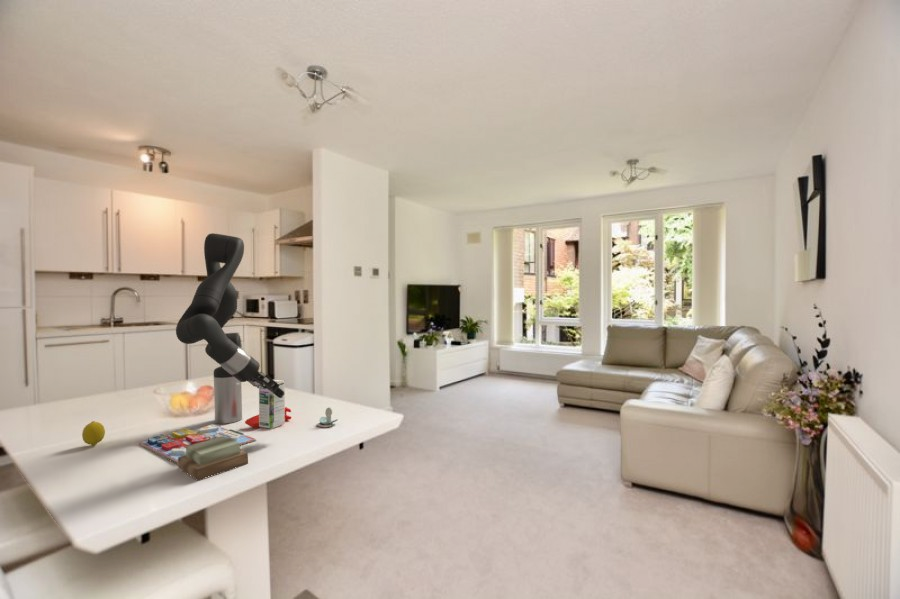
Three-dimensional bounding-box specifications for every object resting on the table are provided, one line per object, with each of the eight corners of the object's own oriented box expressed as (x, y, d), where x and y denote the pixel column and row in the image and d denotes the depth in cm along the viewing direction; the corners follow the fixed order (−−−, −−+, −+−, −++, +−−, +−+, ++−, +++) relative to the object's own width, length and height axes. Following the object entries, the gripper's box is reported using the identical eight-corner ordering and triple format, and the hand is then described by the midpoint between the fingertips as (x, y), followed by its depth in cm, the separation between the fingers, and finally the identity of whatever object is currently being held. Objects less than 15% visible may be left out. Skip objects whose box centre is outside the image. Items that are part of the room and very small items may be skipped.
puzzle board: (257, 442, 135) (256, 434, 135) (179, 468, 116) (178, 458, 116) (212, 426, 153) (212, 419, 153) (138, 446, 134) (138, 438, 134)
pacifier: (328, 429, 146) (340, 424, 151) (327, 412, 145) (339, 407, 151) (313, 426, 149) (325, 421, 154) (312, 409, 149) (325, 405, 154)
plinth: (178, 468, 115) (177, 446, 115) (227, 453, 125) (226, 433, 125) (198, 480, 107) (197, 457, 107) (248, 463, 117) (247, 442, 117)
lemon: (80, 450, 129) (79, 425, 129) (85, 444, 134) (85, 420, 134) (102, 447, 132) (101, 422, 132) (107, 441, 137) (106, 417, 137)
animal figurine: (240, 428, 149) (240, 414, 149) (280, 417, 161) (279, 404, 161) (256, 434, 142) (256, 420, 142) (296, 422, 154) (295, 409, 154)
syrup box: (258, 426, 132) (257, 382, 132) (272, 421, 138) (271, 378, 137) (271, 429, 130) (271, 383, 130) (285, 423, 136) (285, 379, 135)
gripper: (259, 356, 123) (295, 387, 133) (236, 351, 132) (272, 381, 141) (241, 376, 119) (280, 407, 129) (219, 370, 128) (257, 400, 137)
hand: (276, 393), depth 135 cm, fingers closed on syrup box, 7 cm apart
